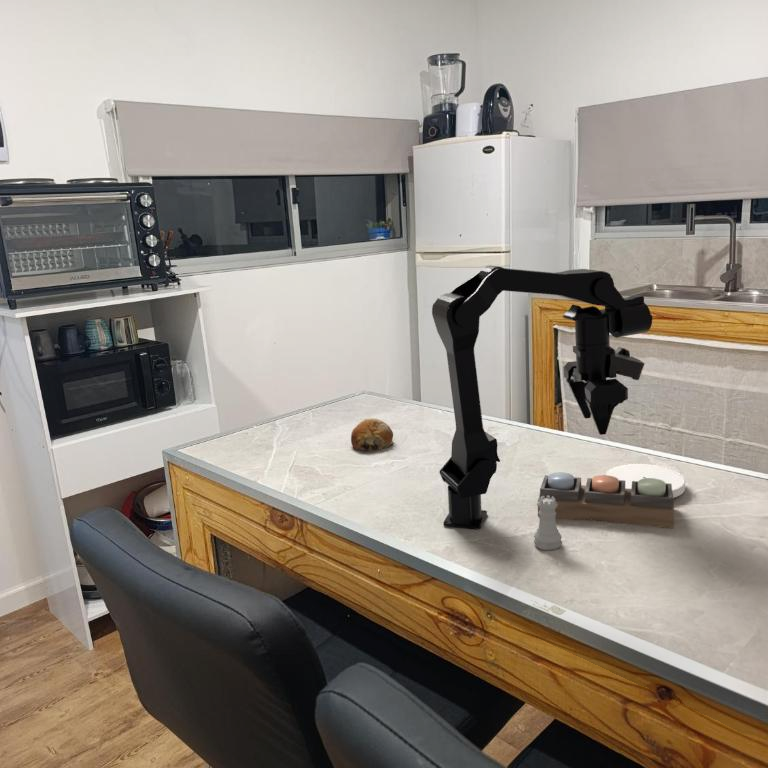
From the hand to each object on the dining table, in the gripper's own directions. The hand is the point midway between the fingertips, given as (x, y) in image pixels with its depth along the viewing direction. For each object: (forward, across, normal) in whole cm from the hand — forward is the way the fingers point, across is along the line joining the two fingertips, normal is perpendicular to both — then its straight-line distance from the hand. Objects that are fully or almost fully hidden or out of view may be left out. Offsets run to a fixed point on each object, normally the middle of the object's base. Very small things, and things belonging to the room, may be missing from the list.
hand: (594, 425), depth 128 cm
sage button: (+9, -11, -6) cm, 15 cm away
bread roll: (+13, +36, +42) cm, 57 cm away
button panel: (+13, -8, +1) cm, 15 cm away
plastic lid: (+14, +1, -9) cm, 17 cm away
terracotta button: (+9, -8, +1) cm, 12 cm away
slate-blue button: (+9, -5, +8) cm, 13 cm away
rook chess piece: (+13, -18, +13) cm, 26 cm away
